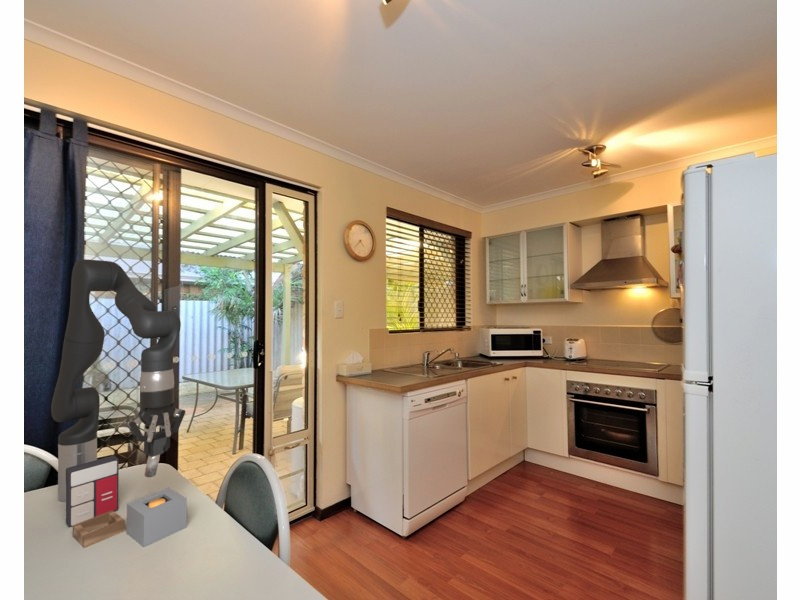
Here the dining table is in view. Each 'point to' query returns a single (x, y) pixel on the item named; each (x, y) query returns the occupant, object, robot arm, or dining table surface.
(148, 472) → the stylus
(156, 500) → the button
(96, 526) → the wooden square frame
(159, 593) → the dining table surface
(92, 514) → the calculator
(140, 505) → the guard box
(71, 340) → the robot arm
